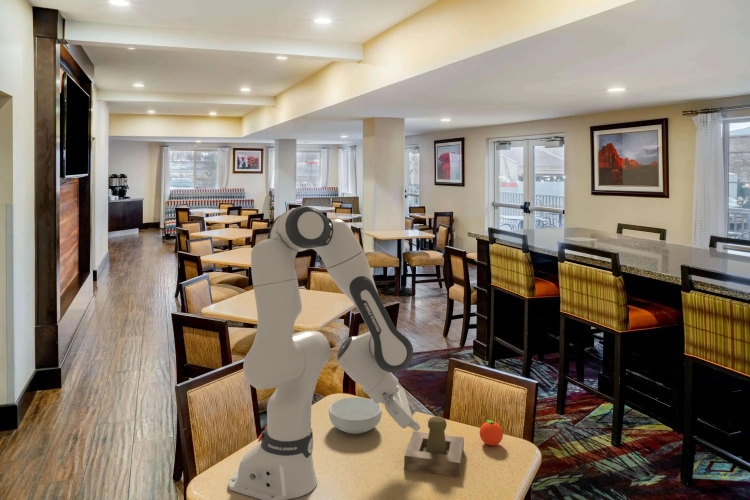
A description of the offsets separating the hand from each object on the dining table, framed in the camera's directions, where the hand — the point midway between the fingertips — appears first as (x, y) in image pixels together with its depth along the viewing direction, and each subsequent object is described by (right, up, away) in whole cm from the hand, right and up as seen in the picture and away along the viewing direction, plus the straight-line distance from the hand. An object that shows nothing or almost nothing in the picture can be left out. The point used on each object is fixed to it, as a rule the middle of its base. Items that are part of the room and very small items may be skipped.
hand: (415, 420), depth 151 cm
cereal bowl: (-18, -9, +21) cm, 29 cm away
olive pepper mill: (+6, -11, +2) cm, 12 cm away
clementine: (+23, -11, +13) cm, 29 cm away
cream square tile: (+6, -11, +3) cm, 13 cm away
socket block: (+6, -12, +3) cm, 13 cm away
